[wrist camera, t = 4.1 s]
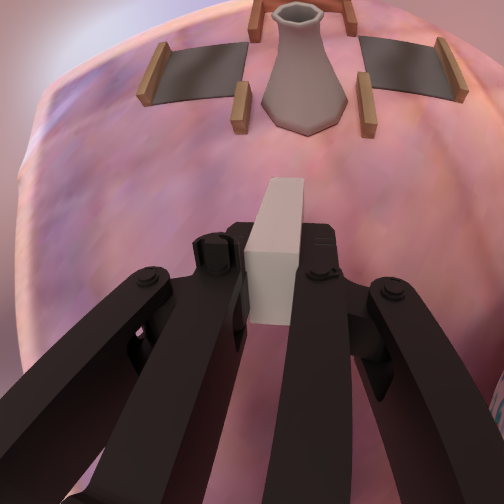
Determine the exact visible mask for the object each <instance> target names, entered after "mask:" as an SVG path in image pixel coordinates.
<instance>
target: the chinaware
mask: <svg viewBox="0 0 504 504" xmlns="http://www.w3.org/2000/svg"><path fill="white" fill-rule="evenodd" d="M489 411H490V413H491V414H492V416H493V418H494V420H495V422H496V424H497V427H498V429H499V431H500V433H501V435H502V437H503V439H504V371H503V373H502V375H501V377H500V379H499V381H498V383H497V385H496V388H495V390H494V393H493V396H492V399H491V402H490V405H489Z"/></svg>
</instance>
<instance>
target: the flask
mask: <svg viewBox="0 0 504 504" xmlns="http://www.w3.org/2000/svg"><path fill="white" fill-rule="evenodd" d="M323 17H324V12H323V11H322V10H321V9H319V8H318V7H316V6H315V5H313V4H308V3H303V2H297V1H295V2H291V3H288V4H284V5H281V6H279V7H278V8H277V9H276V10H275V11H274V12H273V13H272V18H273V20H275V21H276V22H277V23H278V28H279V46H278V54H277V58H276V61H275V64H274V67H273V70H272V73H271V77H270V80H269V82H268V85H267V88H266V90H265V93H264V96H263V99H262V102H261V105H262V106H263V108H264V109H265V110H266V112H267V113H268V115H269V116H270V117H271V119H272V120H273V122H274V123H275V124H276V125H277V126H280V127H283V128H286V129H289V130H292V131H295V132H298V133H301V134H304V135H306V136H309V135H312V134H314V133H316V132H318V131H321V130H323V129H325V128H328V127H330V126H332V125H335V124H337V123H338V121H339V119H340V117H341V115H342V113H343V111H344V109H345V107H346V104H347V102H348V100H347V97H346V95H345V93H344V91H343V89H342V86H341V84H340V82H339V80H338V78H337V76H336V74H335V72H334V70H333V68H332V66H331V63H330V61H329V59H328V57H327V55H326V53H325V50H324V46H323V42H322V39H321V35H320V21H321V20H322V18H323Z"/></svg>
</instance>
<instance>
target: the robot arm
mask: <svg viewBox="0 0 504 504" xmlns="http://www.w3.org/2000/svg"><path fill="white" fill-rule="evenodd" d="M192 244H193V250H194V256H195V261H196V267H197V268H196V270H195V271H194V273H193V275H191V276H187V277H180V278H173V279H170V275H169V273H168V271H167V270H166V269H164V268H162V267H155V266H152V267H145V268H143V269H140V270H138V271H136V272H135V273H133V274H132V275H130V276H129V277H128V278H127V279H126V280H125V281H123V282H122V283H121V284H120V285H119V286H118V287H117V288H115V289H114V290H113V291H112V292H111V293H110V294H109V295H108V296H106V297H105V298H104V299H103V300H102V301H101V302H100V303H99V304H97V305H96V306H95V307H94V308H93V309H92V310H91V311H90V312H89V313H88V314H86V315H85V316H84V317H83V318H82V319H81V320H80V321H79V322H78V323H77V324H76V325H74V326H73V327H72V328H71V329H70V330H69V331H68V332H67V333H66V334H65V335H64V336H63V337H62V338H61V339H60V340H59V341H58V342H56V343H55V344H54V345H53V346H52V347H51V348H50V349H49V350H48V351H47V352H46V353H45V354H44V355H43V356H42V357H41V358H40V359H39V360H38V361H37V362H36V363H35V364H34V365H33V366H32V367H31V368H30V369H29V370H28V371H27V372H26V373H25V374H24V375H23V376H22V377H21V378H20V379H19V380H18V381H17V382H16V383H15V384H14V385H13V386H12V387H11V388H10V389H9V391H8V392H7V393H6V394H5V395H4V396H3V397H2V398H1V399H0V504H60V503H61V504H202V502H203V499H204V495H205V492H206V488H207V484H208V481H209V477H210V474H211V470H212V466H213V463H214V459H215V455H216V452H217V448H218V444H219V440H220V437H221V433H222V429H223V426H224V422H225V418H226V414H227V411H228V407H229V403H230V399H231V395H232V392H233V388H234V384H235V380H236V376H237V372H238V368H239V365H240V361H241V357H242V353H243V349H244V345H245V341H246V337H247V324H246V322H247V318H248V314H249V318H250V323H257V324H271V325H286V326H290V327H289V336H288V343H287V351H286V359H285V366H284V373H283V380H282V387H281V394H280V401H279V407H278V414H277V420H276V426H275V432H274V438H273V444H272V450H271V456H270V462H269V467H268V473H267V478H266V483H265V489H264V494H263V499H262V504H350V495H351V475H352V382H351V360H350V355H353V356H354V360H355V363H356V366H357V368H358V371H359V374H360V376H361V379H362V382H363V385H364V388H365V390H366V393H367V396H368V399H369V402H370V405H371V407H372V410H373V413H374V416H375V419H376V422H377V425H378V428H379V431H380V434H381V437H382V440H383V443H384V446H385V450H386V453H387V456H388V459H389V462H390V466H391V469H392V472H393V476H394V479H395V482H396V486H397V489H398V493H399V496H400V500H401V503H402V504H504V439H503V437H502V435H501V433H500V431H499V429H498V427H497V424H496V422H495V420H494V418H493V416H492V414H491V413H490V411H489V409H488V407H487V405H486V403H485V401H484V399H483V397H482V395H481V394H480V392H479V390H478V388H477V386H476V385H475V383H474V381H473V379H472V377H471V376H470V374H469V372H468V371H467V369H466V367H465V365H464V364H463V362H462V360H461V359H460V357H459V356H458V354H457V352H456V351H455V349H454V347H453V346H452V344H451V343H450V341H449V339H448V338H447V336H446V335H445V333H444V332H443V330H442V329H441V327H440V326H439V324H438V323H437V321H436V320H435V318H434V317H433V315H432V314H431V312H430V311H429V309H428V308H427V306H426V305H425V303H424V302H423V300H422V299H421V298H420V296H419V295H418V293H417V292H416V291H415V289H414V288H413V287H412V286H411V285H410V284H409V283H407V282H406V281H404V280H402V279H399V278H395V277H382V278H378V279H376V280H374V281H373V282H372V283H371V285H370V287H366V286H362V285H358V284H355V283H353V282H351V281H349V280H347V279H346V278H345V277H344V276H343V273H342V270H341V269H340V268H339V263H338V254H337V246H336V237H335V230H334V229H333V228H332V227H331V226H330V225H329V224H317V223H304V178H280V177H272V178H271V180H270V183H269V186H268V188H267V191H266V193H265V196H264V199H263V201H262V204H261V207H260V209H259V212H258V215H257V217H256V220H255V222H236V223H234V224H233V225H231V226H230V227H229V228H228V229H227V231H226V232H225V233H223V232H218V233H210V234H206V235H203V236H201V237H199V238H197V239H196V240H195V241H194V242H193V243H192ZM140 327H142V329H143V333H142V334H141V335H139V336H138V337H137V336H136V334H135V333H136V332H137V330H138V329H139V328H140ZM105 446H106V447H105ZM104 447H105V449H104ZM103 449H104V451H103V454H102V456H101V458H100V460H99V462H98V465H97V467H96V469H95V471H94V474H93V476H92V478H91V480H90V483H89V484H88V486H87V488H86V489H85V490H84V491H82V492H80V493H77V494H74V495H70V496H68V497H67V498H66V499H65V500H64V501H62V500H63V499H64V498H65V497H66V495H67V494H68V493H69V492H70V490H71V489H72V488H73V486H74V485H75V484H76V483H77V481H78V480H79V479H80V478H81V476H82V475H83V474H84V473H85V471H86V470H87V469H88V468H89V466H90V465H91V464H92V463H93V461H94V460H95V459H96V458H97V456H98V455H99V454H100V452H101V451H102V450H103Z"/></svg>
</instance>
